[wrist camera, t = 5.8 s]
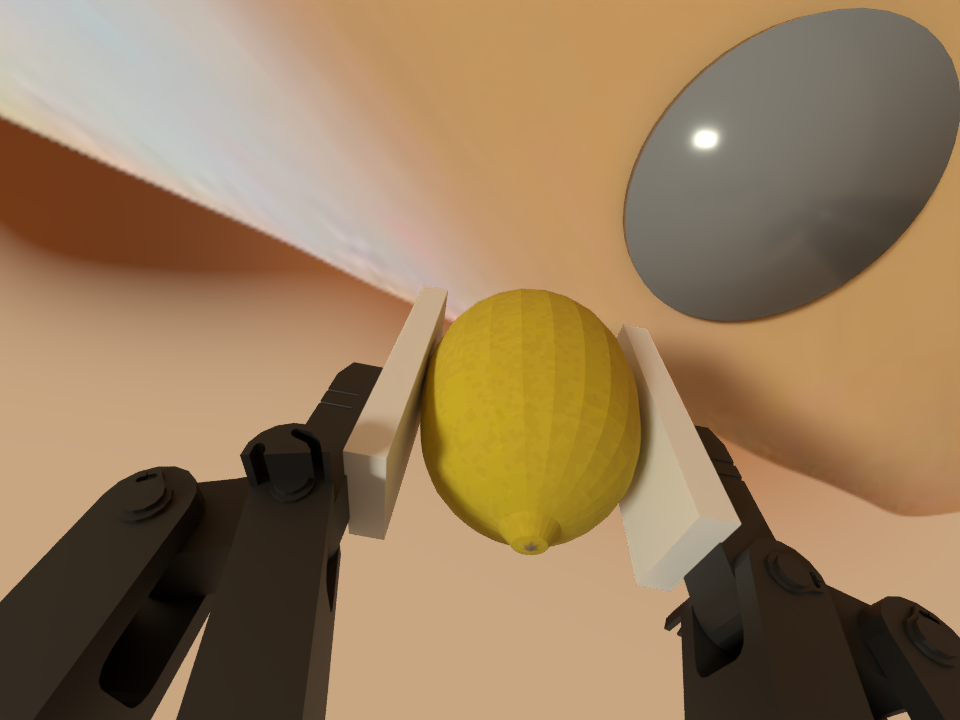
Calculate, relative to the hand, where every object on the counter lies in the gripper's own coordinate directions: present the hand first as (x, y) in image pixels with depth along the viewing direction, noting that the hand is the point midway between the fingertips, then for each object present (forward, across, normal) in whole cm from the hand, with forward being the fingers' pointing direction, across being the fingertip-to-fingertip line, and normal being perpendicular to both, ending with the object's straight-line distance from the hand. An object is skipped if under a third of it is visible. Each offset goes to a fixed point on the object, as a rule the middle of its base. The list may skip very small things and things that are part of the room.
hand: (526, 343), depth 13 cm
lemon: (+1, 0, 0) cm, 1 cm away
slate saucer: (+12, -12, -4) cm, 17 cm away
